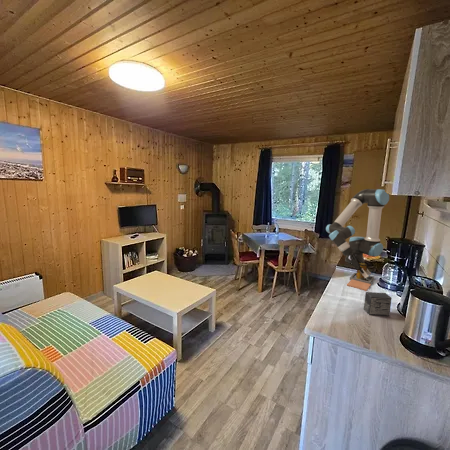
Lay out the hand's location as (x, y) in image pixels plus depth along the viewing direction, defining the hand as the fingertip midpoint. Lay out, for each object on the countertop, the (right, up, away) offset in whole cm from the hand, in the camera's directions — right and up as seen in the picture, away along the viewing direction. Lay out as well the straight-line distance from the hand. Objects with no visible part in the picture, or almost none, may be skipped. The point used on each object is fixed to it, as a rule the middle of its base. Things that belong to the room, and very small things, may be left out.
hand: (368, 275), depth 169 cm
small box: (-20, -11, -41) cm, 47 cm away
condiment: (-2, -4, +3) cm, 6 cm away
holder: (-3, -4, +3) cm, 5 cm away
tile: (-11, -5, -7) cm, 14 cm away
